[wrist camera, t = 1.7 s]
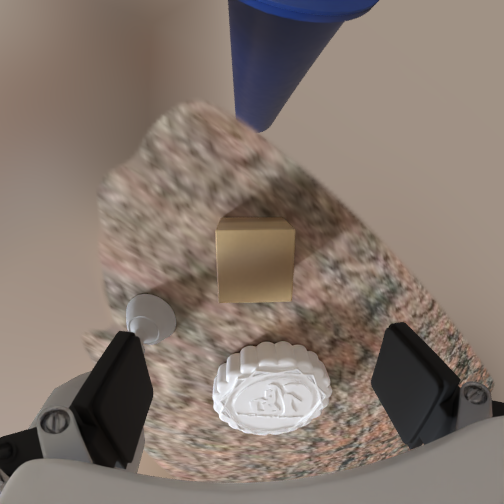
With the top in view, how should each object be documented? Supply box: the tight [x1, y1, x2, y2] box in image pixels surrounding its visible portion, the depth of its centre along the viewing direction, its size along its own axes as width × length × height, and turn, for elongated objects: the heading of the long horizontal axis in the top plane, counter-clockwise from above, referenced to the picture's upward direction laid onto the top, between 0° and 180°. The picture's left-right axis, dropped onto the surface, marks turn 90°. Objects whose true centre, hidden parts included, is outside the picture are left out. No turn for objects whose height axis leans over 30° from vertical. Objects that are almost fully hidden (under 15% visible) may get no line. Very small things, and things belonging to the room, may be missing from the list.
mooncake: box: [213, 341, 332, 435], centre depth 25 cm, size 12×12×4 cm
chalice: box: [29, 294, 176, 473], centre depth 15 cm, size 7×7×18 cm
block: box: [216, 217, 295, 303], centre depth 20 cm, size 5×5×5 cm
